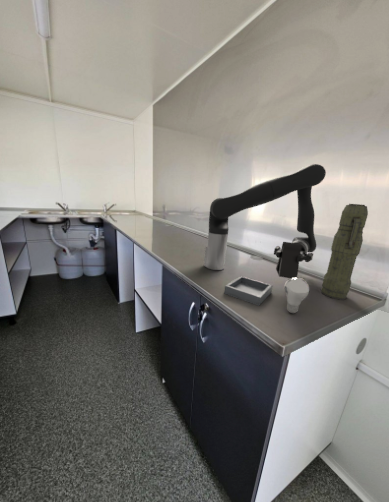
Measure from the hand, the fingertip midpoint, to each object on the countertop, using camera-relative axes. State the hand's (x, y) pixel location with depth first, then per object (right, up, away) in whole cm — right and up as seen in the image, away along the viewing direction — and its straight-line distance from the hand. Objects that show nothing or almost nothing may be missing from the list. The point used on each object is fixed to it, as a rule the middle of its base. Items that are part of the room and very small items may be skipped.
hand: (288, 257), depth 77 cm
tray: (-14, -13, +3) cm, 19 cm away
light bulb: (-3, -18, -9) cm, 20 cm away
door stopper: (+1, -7, +4) cm, 8 cm away
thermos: (+21, -15, +8) cm, 27 cm away
